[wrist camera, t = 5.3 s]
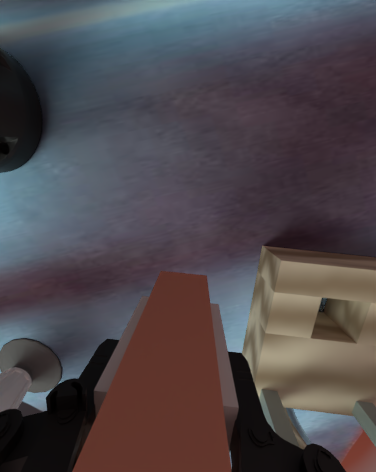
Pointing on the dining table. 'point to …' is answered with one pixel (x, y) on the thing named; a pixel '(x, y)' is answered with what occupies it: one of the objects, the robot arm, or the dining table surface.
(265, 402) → the grey toy table
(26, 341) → the cup
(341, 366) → the socket block
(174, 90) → the dining table surface
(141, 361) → the peg
